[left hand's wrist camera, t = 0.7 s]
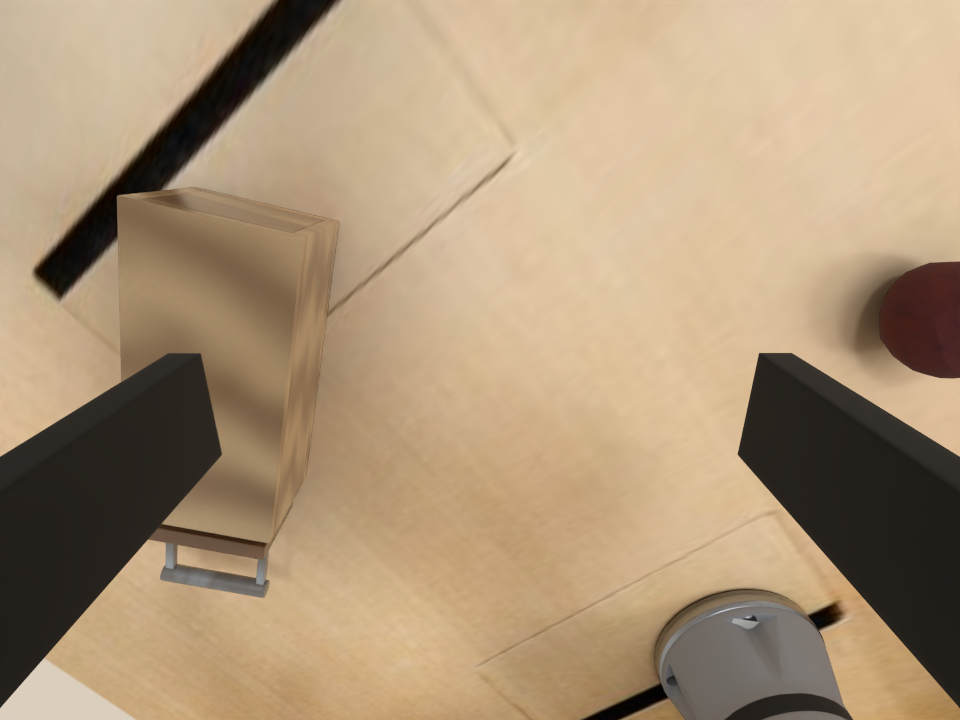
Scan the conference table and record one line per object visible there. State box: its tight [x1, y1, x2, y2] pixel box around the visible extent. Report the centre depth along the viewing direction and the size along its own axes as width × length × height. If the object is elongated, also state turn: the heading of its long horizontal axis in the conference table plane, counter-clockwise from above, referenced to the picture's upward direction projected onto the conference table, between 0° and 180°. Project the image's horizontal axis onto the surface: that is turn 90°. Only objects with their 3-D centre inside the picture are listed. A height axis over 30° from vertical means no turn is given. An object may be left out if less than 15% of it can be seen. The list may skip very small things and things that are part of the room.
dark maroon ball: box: [879, 262, 960, 378], centre depth 34 cm, size 7×8×7 cm
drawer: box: [149, 502, 293, 598], centre depth 37 cm, size 26×8×6 cm, turn 167°
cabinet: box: [117, 187, 339, 543], centre depth 35 cm, size 21×10×8 cm, turn 167°
